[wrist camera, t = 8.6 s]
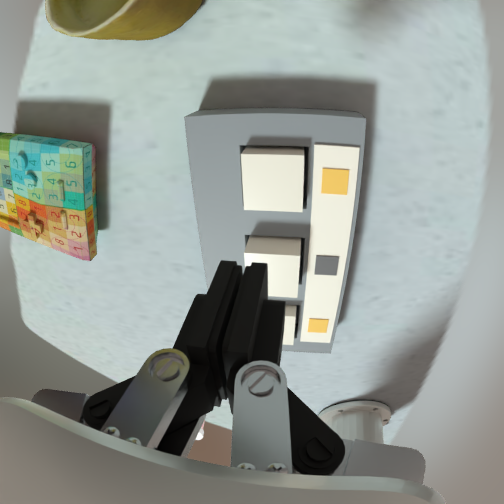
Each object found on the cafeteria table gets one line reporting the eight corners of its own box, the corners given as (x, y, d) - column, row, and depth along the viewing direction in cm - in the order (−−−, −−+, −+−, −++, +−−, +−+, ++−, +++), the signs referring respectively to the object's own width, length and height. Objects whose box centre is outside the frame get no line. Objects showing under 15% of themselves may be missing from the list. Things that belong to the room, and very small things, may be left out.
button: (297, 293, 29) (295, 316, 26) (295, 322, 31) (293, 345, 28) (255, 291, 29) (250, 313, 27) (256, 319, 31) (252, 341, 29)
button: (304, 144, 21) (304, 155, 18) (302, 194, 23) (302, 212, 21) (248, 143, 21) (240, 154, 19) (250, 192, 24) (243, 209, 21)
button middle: (301, 234, 24) (300, 255, 22) (298, 274, 26) (297, 298, 24) (250, 231, 25) (244, 252, 22) (252, 271, 27) (246, 294, 24)
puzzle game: (86, 266, 27) (-24, 222, 27) (108, 240, 31) (-1, 204, 31) (76, 151, 20) (-39, 136, 20) (107, 135, 24) (-11, 123, 24)
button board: (358, 112, 20) (367, 119, 17) (330, 332, 33) (330, 355, 30) (198, 110, 22) (182, 117, 19) (223, 324, 34) (217, 346, 32)
